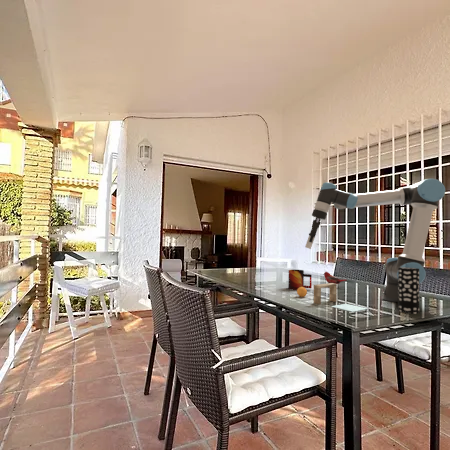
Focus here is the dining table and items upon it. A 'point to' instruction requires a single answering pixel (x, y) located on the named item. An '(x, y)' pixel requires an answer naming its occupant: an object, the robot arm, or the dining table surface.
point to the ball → (301, 291)
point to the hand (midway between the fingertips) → (307, 248)
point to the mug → (298, 279)
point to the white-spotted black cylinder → (408, 290)
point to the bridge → (331, 294)
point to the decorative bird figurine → (332, 278)
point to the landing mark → (349, 307)
